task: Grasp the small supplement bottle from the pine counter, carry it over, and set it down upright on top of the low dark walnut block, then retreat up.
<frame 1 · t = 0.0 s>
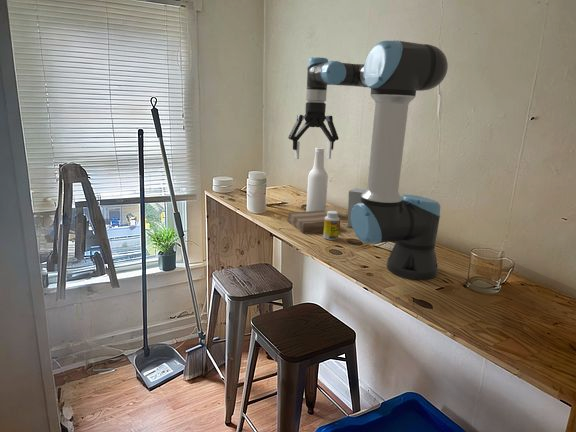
hand: (312, 158, 157), 28 cm above the worktop, fingers open, 13 cm apart
alcohol: (315, 214, 185), on the worktop
walnut block: (313, 225, 166), on the worktop
skincare box: (358, 227, 167), on the worktop
supplement bottle: (330, 238, 152), on the worktop
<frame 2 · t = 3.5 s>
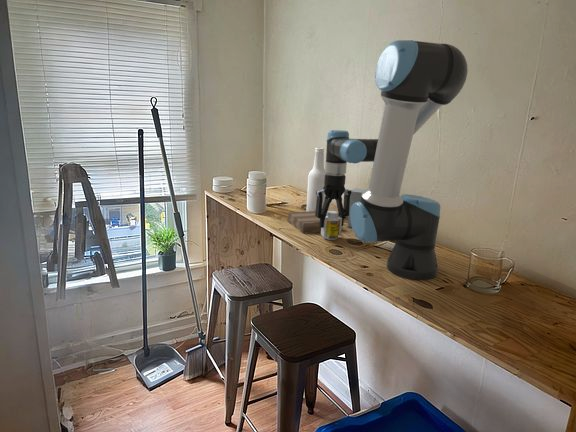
hand: (330, 234, 151), 1 cm above the worktop, fingers closed on supplement bottle, 6 cm apart
supplement bottle: (330, 238, 152), on the worktop, touching gripper
everything else where it was.
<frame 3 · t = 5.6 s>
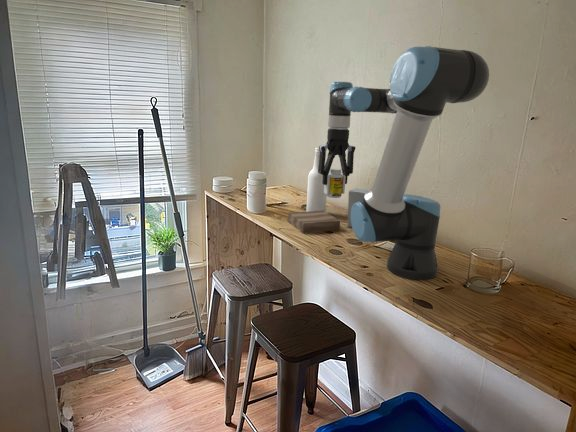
hand: (334, 193, 147), 17 cm above the worktop, fingers closed on supplement bottle, 6 cm apart
supplement bottle: (333, 197, 147), point 16 cm above the worktop, touching gripper
everything else where it was.
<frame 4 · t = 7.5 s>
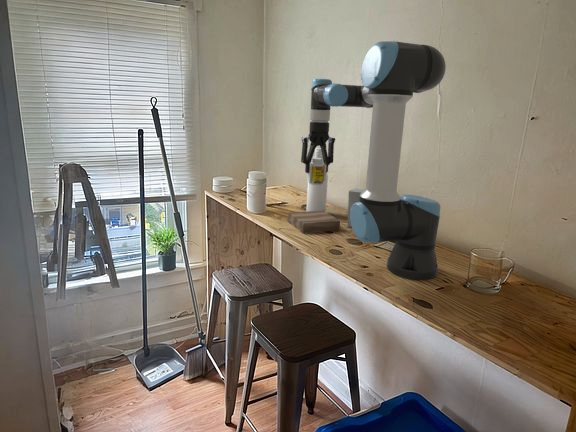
hand: (316, 180, 161), 19 cm above the worktop, fingers closed on supplement bottle, 6 cm apart
supplement bottle: (315, 184, 161), point 17 cm above the worktop, touching gripper
everything else where it was.
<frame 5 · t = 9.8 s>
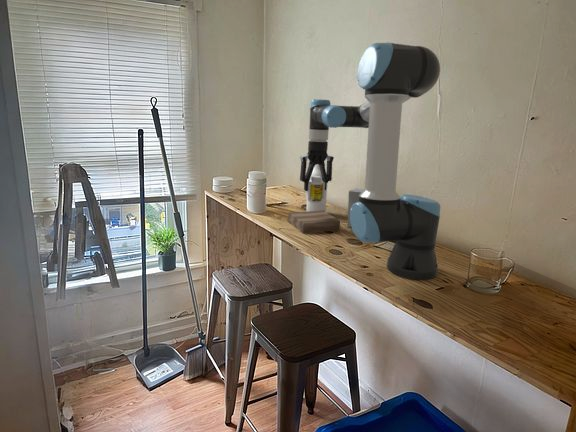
hand: (314, 198, 163), 12 cm above the worktop, fingers closed on supplement bottle, 6 cm apart
supplement bottle: (314, 201, 163), point 10 cm above the worktop, touching gripper
everything else where it was.
when the fingers open (8 cm above the worktop, at t = 11.9 s): supplement bottle drops 2 cm, resting on walnut block.
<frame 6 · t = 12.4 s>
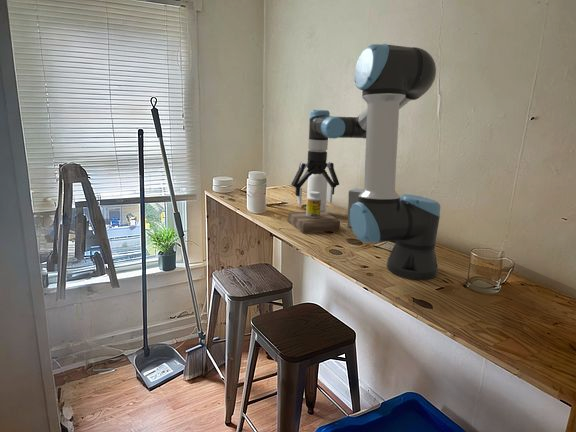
hand: (314, 203, 163), 10 cm above the worktop, fingers open, 13 cm apart
supplement bottle: (312, 217, 165), point 4 cm above the worktop, touching walnut block
everything else where it was.
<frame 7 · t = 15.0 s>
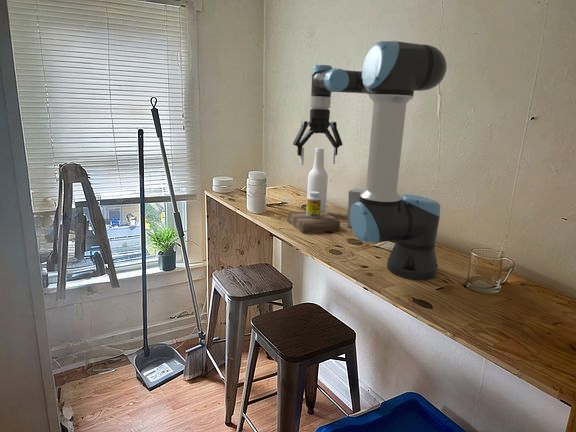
hand: (316, 164, 159), 26 cm above the worktop, fingers open, 13 cm apart
nothing on the worktop moved.
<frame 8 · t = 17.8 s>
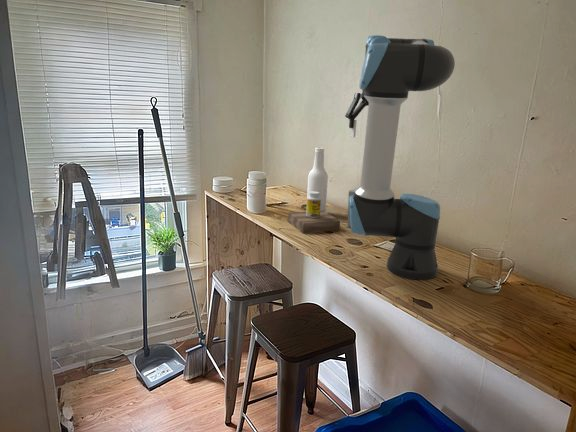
hand: (367, 137, 158), 37 cm above the worktop, fingers open, 13 cm apart
nothing on the worktop moved.
at the end: supplement bottle inside the target area on the walnut block (0.4 cm from its centre), point 3.8 cm above the walnut block's base; supplement bottle tilted 0°; the gripper is holding nothing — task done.
